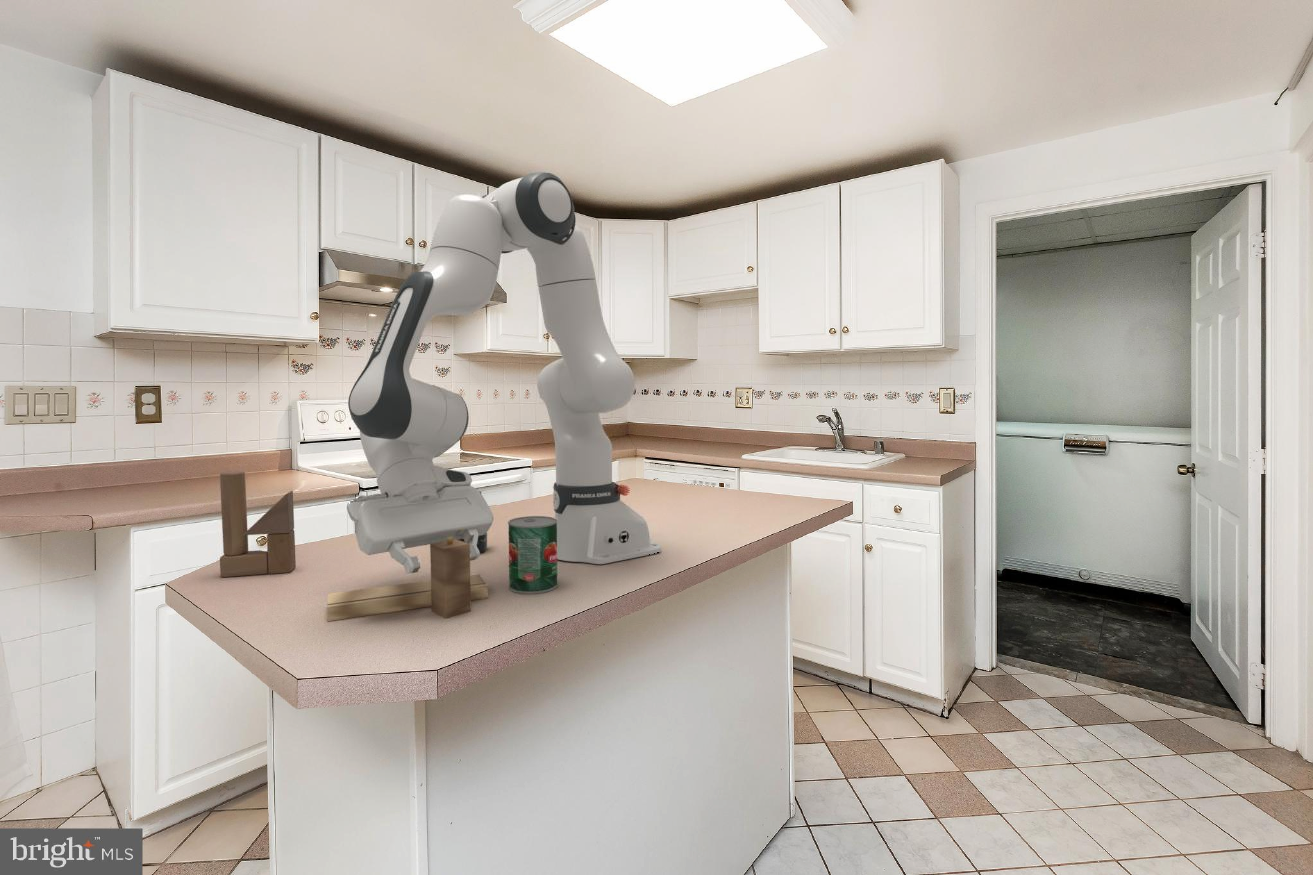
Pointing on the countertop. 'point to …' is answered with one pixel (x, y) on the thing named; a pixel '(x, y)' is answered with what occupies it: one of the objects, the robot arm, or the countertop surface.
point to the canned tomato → (532, 554)
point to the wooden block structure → (254, 532)
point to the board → (390, 598)
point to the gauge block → (450, 577)
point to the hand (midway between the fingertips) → (445, 564)
